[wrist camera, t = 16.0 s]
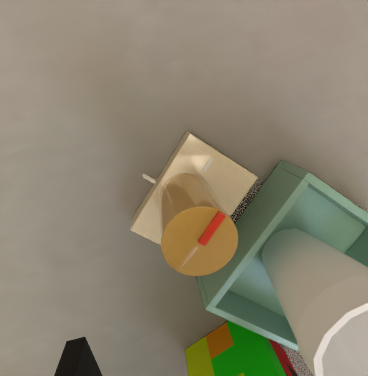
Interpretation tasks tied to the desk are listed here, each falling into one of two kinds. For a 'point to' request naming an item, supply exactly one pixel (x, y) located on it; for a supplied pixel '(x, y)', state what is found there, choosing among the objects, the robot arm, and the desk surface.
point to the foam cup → (321, 301)
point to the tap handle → (194, 227)
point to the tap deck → (201, 166)
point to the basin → (263, 230)
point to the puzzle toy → (237, 354)
